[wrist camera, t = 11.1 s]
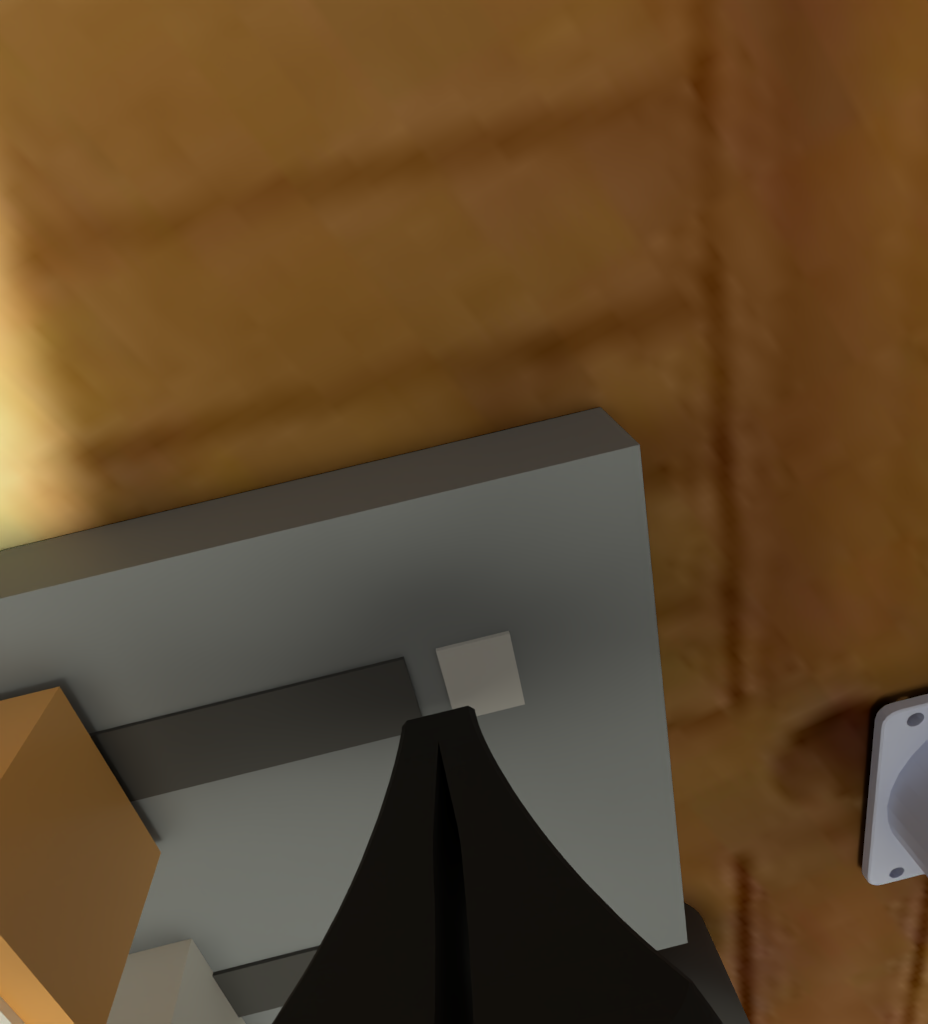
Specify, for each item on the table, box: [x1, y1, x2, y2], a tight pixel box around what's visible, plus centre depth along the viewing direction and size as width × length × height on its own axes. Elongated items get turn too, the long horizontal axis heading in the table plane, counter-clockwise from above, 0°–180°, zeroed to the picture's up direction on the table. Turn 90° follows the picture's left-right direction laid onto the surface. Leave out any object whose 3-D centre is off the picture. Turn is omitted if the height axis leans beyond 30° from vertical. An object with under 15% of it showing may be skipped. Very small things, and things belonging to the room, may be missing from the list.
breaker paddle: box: [0, 686, 161, 1024], centre depth 13 cm, size 2×5×4 cm, turn 11°
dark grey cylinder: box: [658, 903, 750, 1024], centre depth 22 cm, size 5×5×5 cm
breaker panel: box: [0, 407, 688, 1024], centre depth 16 cm, size 18×16×6 cm
